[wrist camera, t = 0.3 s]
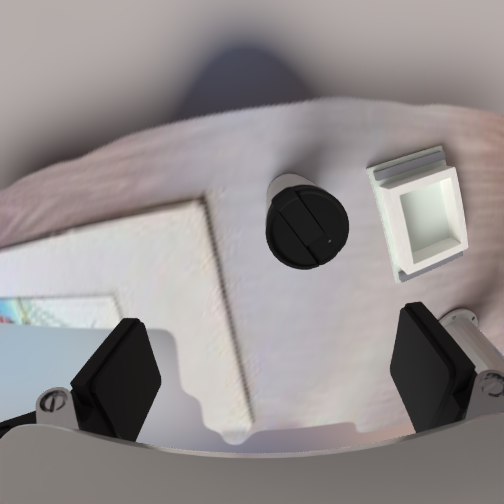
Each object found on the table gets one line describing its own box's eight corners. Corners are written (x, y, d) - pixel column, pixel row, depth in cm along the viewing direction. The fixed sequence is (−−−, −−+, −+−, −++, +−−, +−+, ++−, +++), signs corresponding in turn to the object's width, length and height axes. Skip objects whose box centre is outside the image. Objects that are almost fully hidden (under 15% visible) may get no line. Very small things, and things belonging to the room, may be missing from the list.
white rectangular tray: (458, 253, 40) (472, 262, 36) (394, 281, 42) (405, 293, 38) (438, 146, 35) (454, 146, 31) (366, 168, 37) (377, 170, 33)
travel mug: (293, 162, 38) (317, 165, 19) (321, 201, 39) (368, 242, 20) (255, 189, 39) (243, 220, 20) (285, 227, 41) (298, 290, 22)
